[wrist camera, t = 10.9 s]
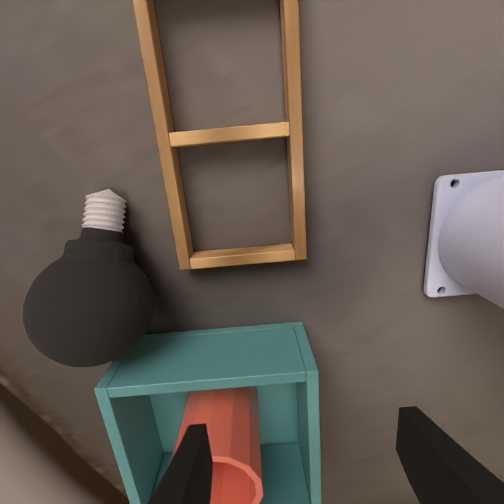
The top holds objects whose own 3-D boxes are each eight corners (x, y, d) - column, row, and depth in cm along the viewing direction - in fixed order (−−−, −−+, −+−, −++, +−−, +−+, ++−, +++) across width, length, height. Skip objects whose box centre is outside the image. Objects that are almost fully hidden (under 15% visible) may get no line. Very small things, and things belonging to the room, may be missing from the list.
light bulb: (123, 170, 13) (99, 396, 13) (181, 203, 19) (167, 355, 19) (7, 168, 14) (-21, 375, 14) (97, 200, 21) (81, 343, 20)
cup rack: (292, -31, 14) (297, -52, 13) (302, 252, 19) (306, 259, 18) (137, -15, 15) (125, -35, 13) (184, 262, 19) (179, 270, 18)
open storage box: (302, 320, 21) (318, 370, 16) (306, 440, 24) (321, 512, 19) (129, 335, 21) (93, 389, 16) (159, 452, 24) (136, 526, 19)
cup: (254, 365, 21) (257, 451, 15) (261, 422, 23) (266, 521, 16) (182, 372, 21) (155, 460, 15) (194, 428, 23) (174, 529, 16)
